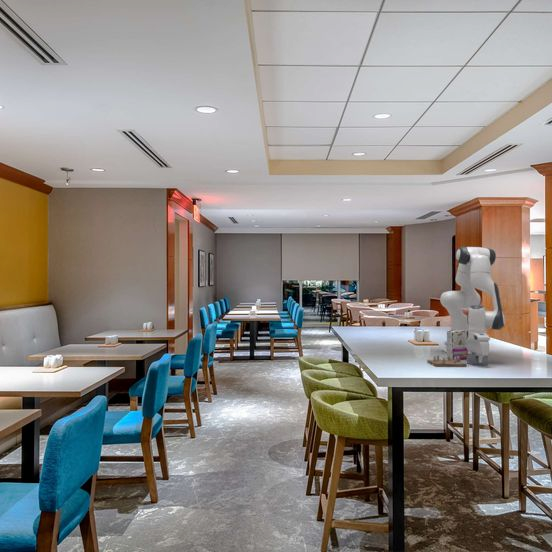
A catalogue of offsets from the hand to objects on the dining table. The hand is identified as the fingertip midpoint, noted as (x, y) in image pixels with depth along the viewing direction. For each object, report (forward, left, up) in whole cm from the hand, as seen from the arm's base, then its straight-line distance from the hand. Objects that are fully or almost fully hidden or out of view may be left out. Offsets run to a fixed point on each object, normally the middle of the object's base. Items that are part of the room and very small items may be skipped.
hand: (477, 361), depth 254 cm
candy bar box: (-17, -4, -2) cm, 18 cm away
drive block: (0, 0, -2) cm, 2 cm away
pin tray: (+1, -17, -2) cm, 17 cm away
